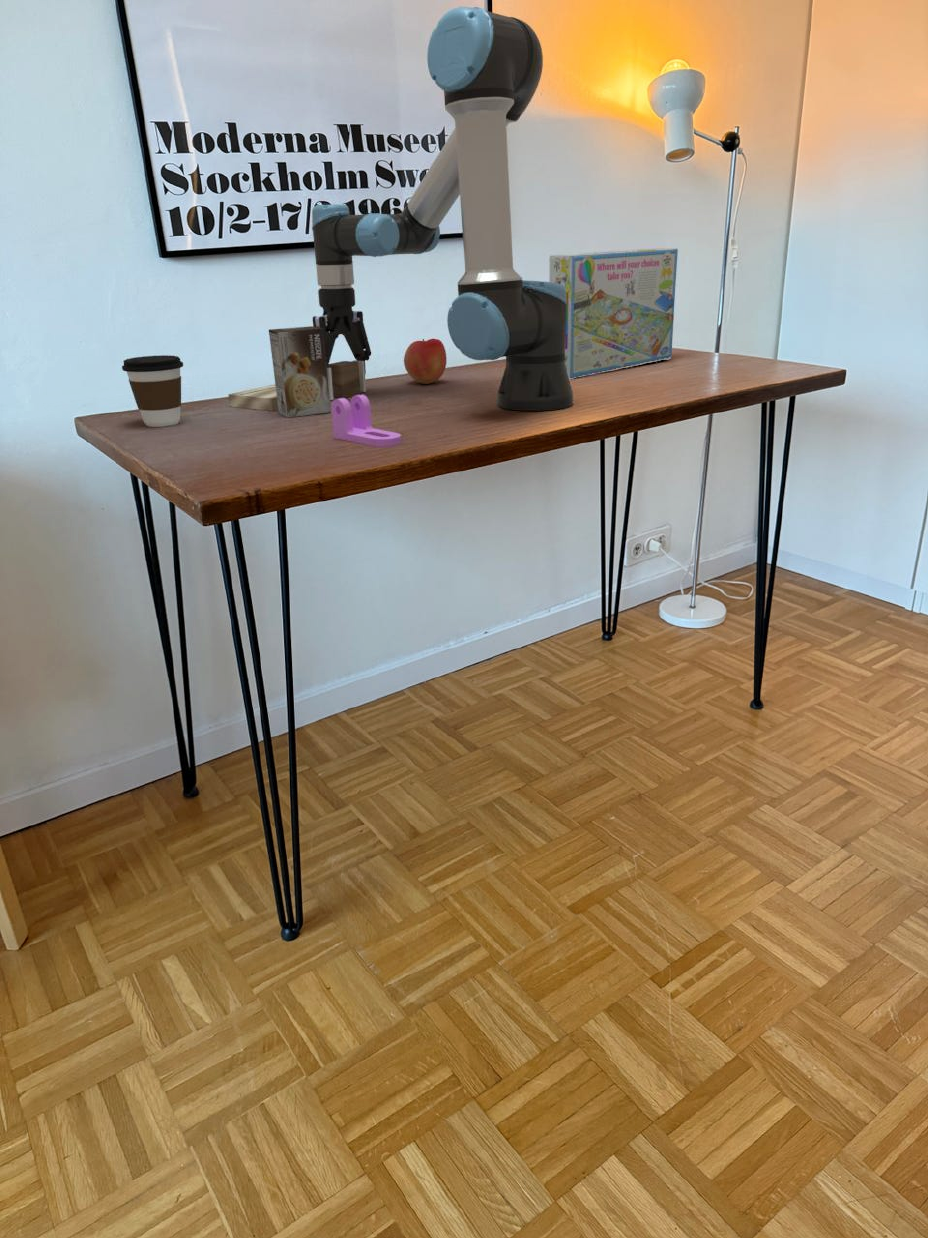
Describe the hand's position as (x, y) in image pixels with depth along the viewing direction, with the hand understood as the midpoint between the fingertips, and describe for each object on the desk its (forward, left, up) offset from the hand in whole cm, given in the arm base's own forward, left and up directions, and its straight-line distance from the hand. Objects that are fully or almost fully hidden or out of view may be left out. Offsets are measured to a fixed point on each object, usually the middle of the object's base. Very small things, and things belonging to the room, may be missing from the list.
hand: (344, 394), depth 188 cm
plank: (+8, +7, 0) cm, 11 cm away
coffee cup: (+13, +39, 0) cm, 41 cm away
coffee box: (-5, +19, 0) cm, 19 cm away
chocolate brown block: (+5, 0, 0) cm, 5 cm away
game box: (-38, -59, 0) cm, 70 cm away
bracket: (-32, +33, -1) cm, 46 cm away
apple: (-7, -22, 0) cm, 23 cm away
